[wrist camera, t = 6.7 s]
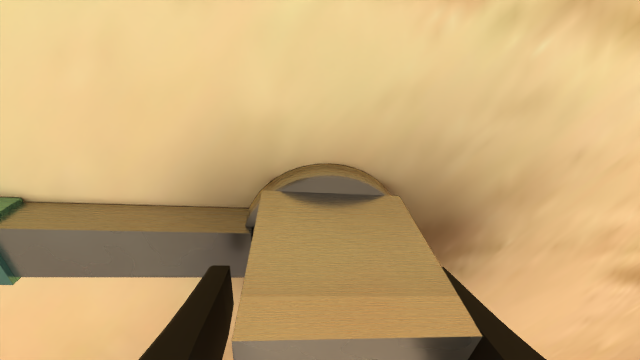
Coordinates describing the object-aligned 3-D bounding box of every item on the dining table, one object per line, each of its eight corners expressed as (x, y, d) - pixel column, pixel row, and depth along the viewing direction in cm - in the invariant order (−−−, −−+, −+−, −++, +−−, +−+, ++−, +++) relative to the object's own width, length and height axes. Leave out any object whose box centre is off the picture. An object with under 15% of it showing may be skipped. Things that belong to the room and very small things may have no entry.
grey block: (373, 287, 13) (417, 437, 8) (262, 287, 13) (242, 448, 8) (399, 195, 11) (482, 336, 6) (262, 190, 10) (231, 341, 5)
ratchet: (381, 283, 15) (408, 368, 11) (-54, 284, 13) (-195, 389, 9) (414, 167, 11) (469, 235, 8) (-173, 140, 9) (-476, 216, 6)
